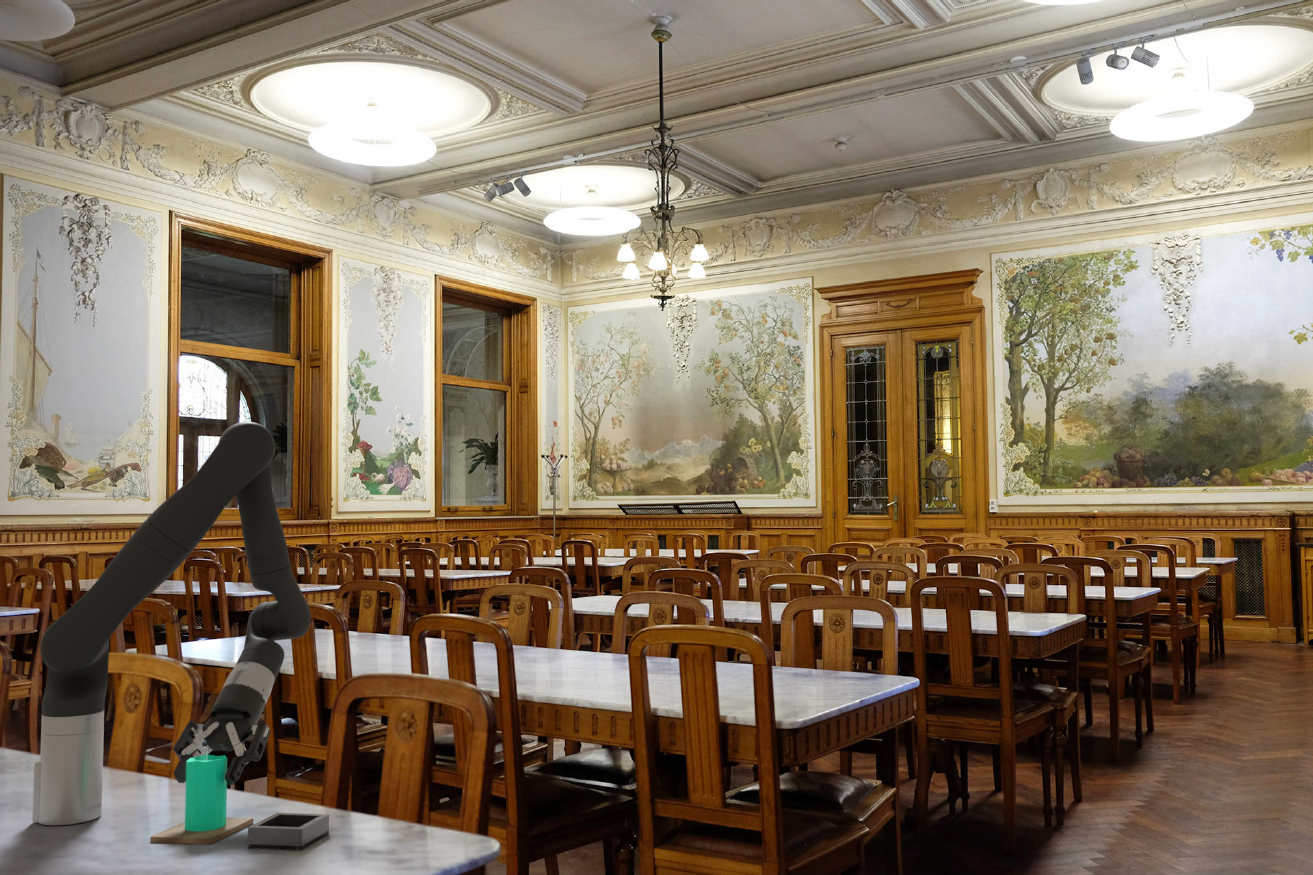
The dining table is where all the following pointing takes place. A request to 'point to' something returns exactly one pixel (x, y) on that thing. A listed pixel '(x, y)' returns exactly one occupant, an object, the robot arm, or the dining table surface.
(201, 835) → the walnut board
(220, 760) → the candle
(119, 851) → the dining table surface
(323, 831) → the box
